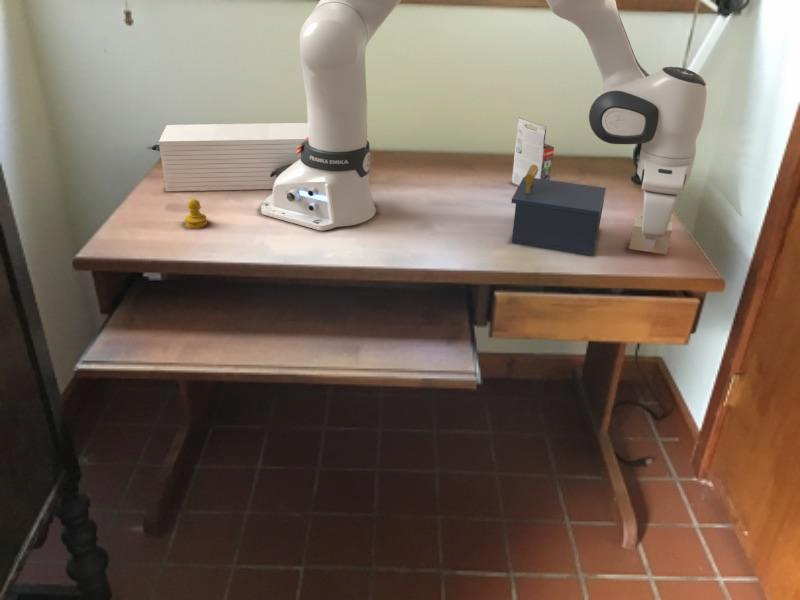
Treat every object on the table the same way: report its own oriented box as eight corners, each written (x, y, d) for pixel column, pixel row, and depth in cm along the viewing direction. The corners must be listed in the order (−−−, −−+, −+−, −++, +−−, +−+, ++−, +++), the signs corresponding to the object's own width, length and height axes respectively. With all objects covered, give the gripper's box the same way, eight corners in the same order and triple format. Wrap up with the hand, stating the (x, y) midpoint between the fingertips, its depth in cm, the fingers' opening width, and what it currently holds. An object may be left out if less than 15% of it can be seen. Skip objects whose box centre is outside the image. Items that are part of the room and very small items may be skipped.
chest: (511, 243, 138) (515, 203, 134) (523, 218, 148) (527, 181, 144) (592, 256, 134) (598, 216, 130) (598, 230, 144) (605, 192, 140)
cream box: (629, 248, 136) (633, 225, 133) (630, 238, 139) (635, 215, 137) (666, 254, 134) (671, 231, 131) (667, 243, 138) (672, 220, 135)
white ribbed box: (166, 191, 155) (158, 141, 150) (173, 172, 164) (166, 124, 159) (321, 188, 159) (319, 138, 153) (320, 169, 168) (318, 122, 162)
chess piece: (211, 221, 143) (208, 197, 141) (199, 229, 140) (196, 205, 137) (193, 218, 144) (190, 194, 142) (181, 226, 141) (177, 201, 139)
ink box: (522, 179, 165) (529, 114, 158) (549, 191, 160) (558, 123, 153) (510, 183, 163) (517, 117, 156) (538, 195, 158) (546, 127, 151)
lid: (511, 202, 134) (513, 178, 132) (523, 180, 144) (525, 157, 141) (598, 215, 130) (603, 191, 128) (605, 191, 140) (609, 168, 137)
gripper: (648, 145, 138) (635, 214, 145) (642, 184, 121) (627, 260, 128) (684, 149, 137) (669, 219, 144) (683, 189, 120) (666, 266, 127)
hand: (649, 239), depth 136 cm, fingers closed on cream box, 5 cm apart
